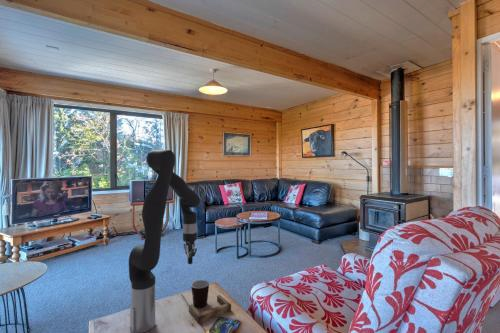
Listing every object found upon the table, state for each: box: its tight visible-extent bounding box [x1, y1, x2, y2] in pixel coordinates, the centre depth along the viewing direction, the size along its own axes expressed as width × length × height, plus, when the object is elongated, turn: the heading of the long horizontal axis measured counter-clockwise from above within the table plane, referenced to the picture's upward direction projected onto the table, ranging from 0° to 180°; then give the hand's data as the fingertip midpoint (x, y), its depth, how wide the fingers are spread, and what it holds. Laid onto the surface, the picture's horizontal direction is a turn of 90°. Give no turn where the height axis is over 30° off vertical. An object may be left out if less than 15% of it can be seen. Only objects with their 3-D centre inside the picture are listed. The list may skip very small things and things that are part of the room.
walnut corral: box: [188, 294, 232, 324], centre depth 114 cm, size 16×11×3 cm
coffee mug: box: [190, 279, 210, 310], centre depth 121 cm, size 12×9×10 cm
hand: (190, 263), depth 132 cm, fingers closed
